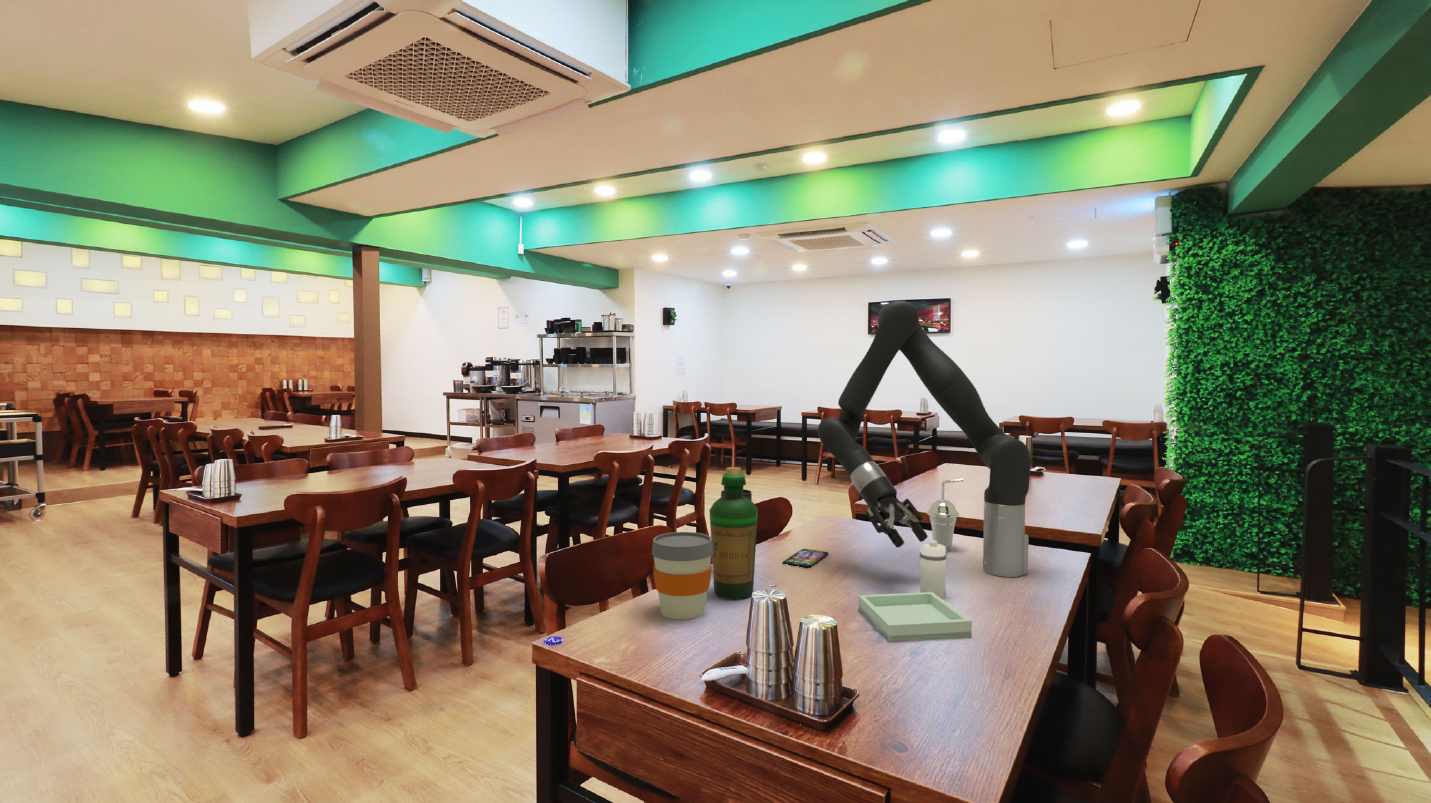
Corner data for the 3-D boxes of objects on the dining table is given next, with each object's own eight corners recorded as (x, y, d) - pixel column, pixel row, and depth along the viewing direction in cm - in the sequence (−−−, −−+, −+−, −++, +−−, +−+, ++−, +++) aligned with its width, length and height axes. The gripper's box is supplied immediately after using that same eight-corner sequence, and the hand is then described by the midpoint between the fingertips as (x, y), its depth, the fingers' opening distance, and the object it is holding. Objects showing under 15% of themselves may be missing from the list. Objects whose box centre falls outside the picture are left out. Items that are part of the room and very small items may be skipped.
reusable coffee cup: (706, 625, 126) (705, 548, 126) (644, 620, 129) (643, 545, 128) (718, 602, 139) (718, 533, 138) (661, 598, 141) (661, 530, 141)
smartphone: (780, 562, 166) (802, 548, 179) (780, 565, 166) (802, 551, 180) (809, 566, 163) (830, 552, 176) (809, 570, 163) (830, 555, 176)
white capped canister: (938, 591, 146) (939, 537, 145) (950, 599, 140) (951, 543, 140) (915, 592, 145) (915, 538, 145) (926, 600, 140) (926, 544, 139)
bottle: (700, 597, 142) (700, 469, 141) (723, 583, 152) (723, 463, 150) (745, 605, 137) (745, 473, 136) (765, 590, 147) (765, 466, 145)
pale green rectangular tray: (932, 606, 137) (932, 592, 136) (971, 636, 121) (971, 621, 121) (858, 609, 135) (858, 595, 134) (888, 641, 119) (888, 625, 119)
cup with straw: (937, 543, 186) (938, 474, 185) (966, 550, 179) (967, 478, 178) (920, 548, 181) (921, 477, 180) (949, 555, 174) (951, 481, 173)
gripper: (862, 478, 149) (903, 538, 140) (901, 472, 157) (942, 528, 149) (844, 497, 153) (883, 557, 144) (883, 491, 162) (922, 546, 153)
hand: (913, 542), depth 147 cm, fingers open, 8 cm apart
